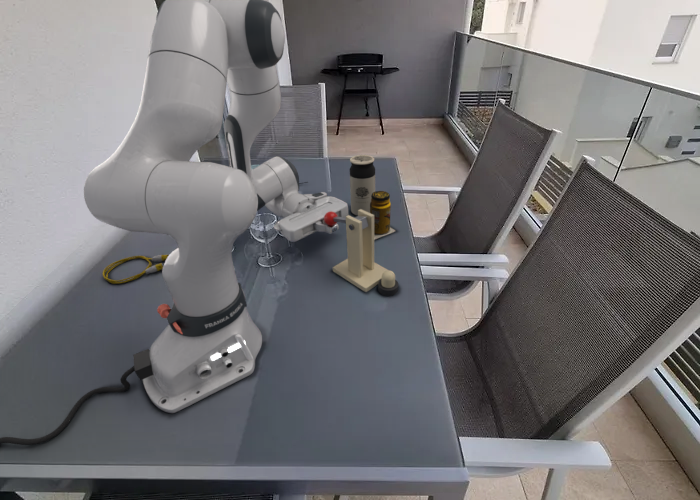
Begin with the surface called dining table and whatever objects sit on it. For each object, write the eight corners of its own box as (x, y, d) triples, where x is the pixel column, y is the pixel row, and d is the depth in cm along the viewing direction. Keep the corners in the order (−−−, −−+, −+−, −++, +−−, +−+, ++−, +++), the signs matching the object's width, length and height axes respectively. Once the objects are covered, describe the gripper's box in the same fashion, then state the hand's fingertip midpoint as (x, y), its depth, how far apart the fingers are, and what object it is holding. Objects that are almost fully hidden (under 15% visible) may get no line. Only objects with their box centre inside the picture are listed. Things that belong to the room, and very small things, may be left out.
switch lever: (323, 226, 90) (319, 213, 88) (333, 221, 92) (330, 208, 90) (360, 233, 79) (356, 218, 78) (371, 227, 81) (368, 213, 80)
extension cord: (147, 287, 88) (144, 281, 87) (93, 282, 90) (90, 276, 89) (175, 259, 98) (173, 253, 96) (126, 255, 100) (123, 249, 99)
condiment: (395, 231, 105) (397, 195, 98) (373, 240, 101) (373, 203, 95) (381, 221, 110) (381, 186, 103) (359, 230, 106) (358, 194, 100)
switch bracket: (332, 271, 90) (327, 214, 81) (357, 256, 95) (355, 201, 86) (366, 292, 83) (365, 232, 73) (390, 275, 88) (392, 217, 78)
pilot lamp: (389, 299, 81) (389, 281, 78) (373, 289, 84) (373, 272, 81) (402, 289, 84) (403, 271, 80) (387, 280, 86) (387, 262, 83)
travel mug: (355, 204, 121) (354, 153, 110) (377, 207, 118) (378, 155, 108) (347, 215, 114) (345, 162, 104) (371, 218, 112) (371, 164, 102)
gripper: (268, 215, 90) (300, 234, 82) (327, 189, 102) (361, 204, 93) (272, 235, 94) (303, 256, 86) (329, 209, 105) (362, 225, 97)
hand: (334, 229), depth 90 cm, fingers closed, pressing on switch lever
